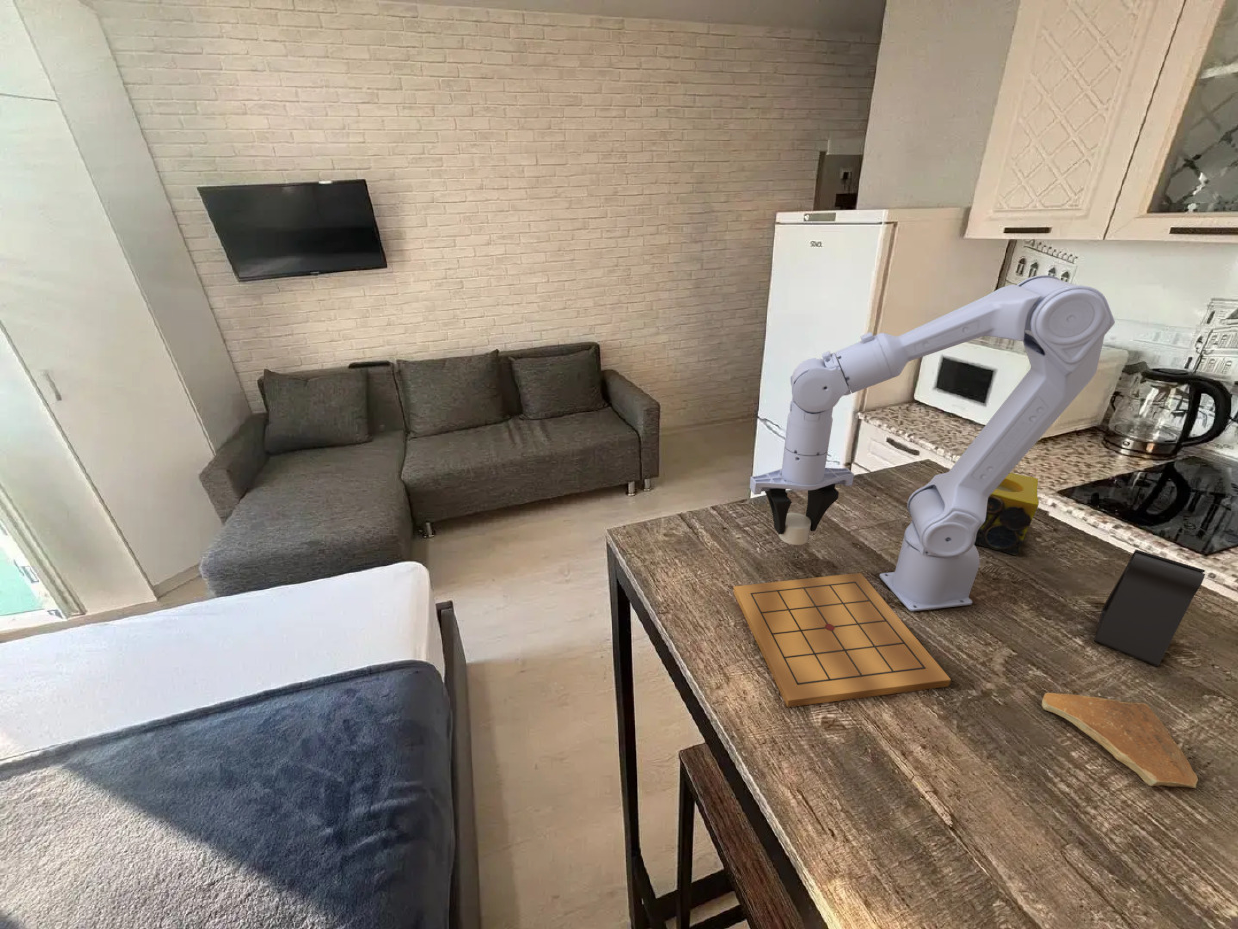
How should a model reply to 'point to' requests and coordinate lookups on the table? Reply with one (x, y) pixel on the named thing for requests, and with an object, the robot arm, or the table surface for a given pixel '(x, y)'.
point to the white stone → (796, 529)
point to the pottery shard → (1127, 736)
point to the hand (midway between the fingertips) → (794, 529)
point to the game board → (834, 640)
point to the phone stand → (1147, 606)
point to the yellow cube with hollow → (1009, 514)
